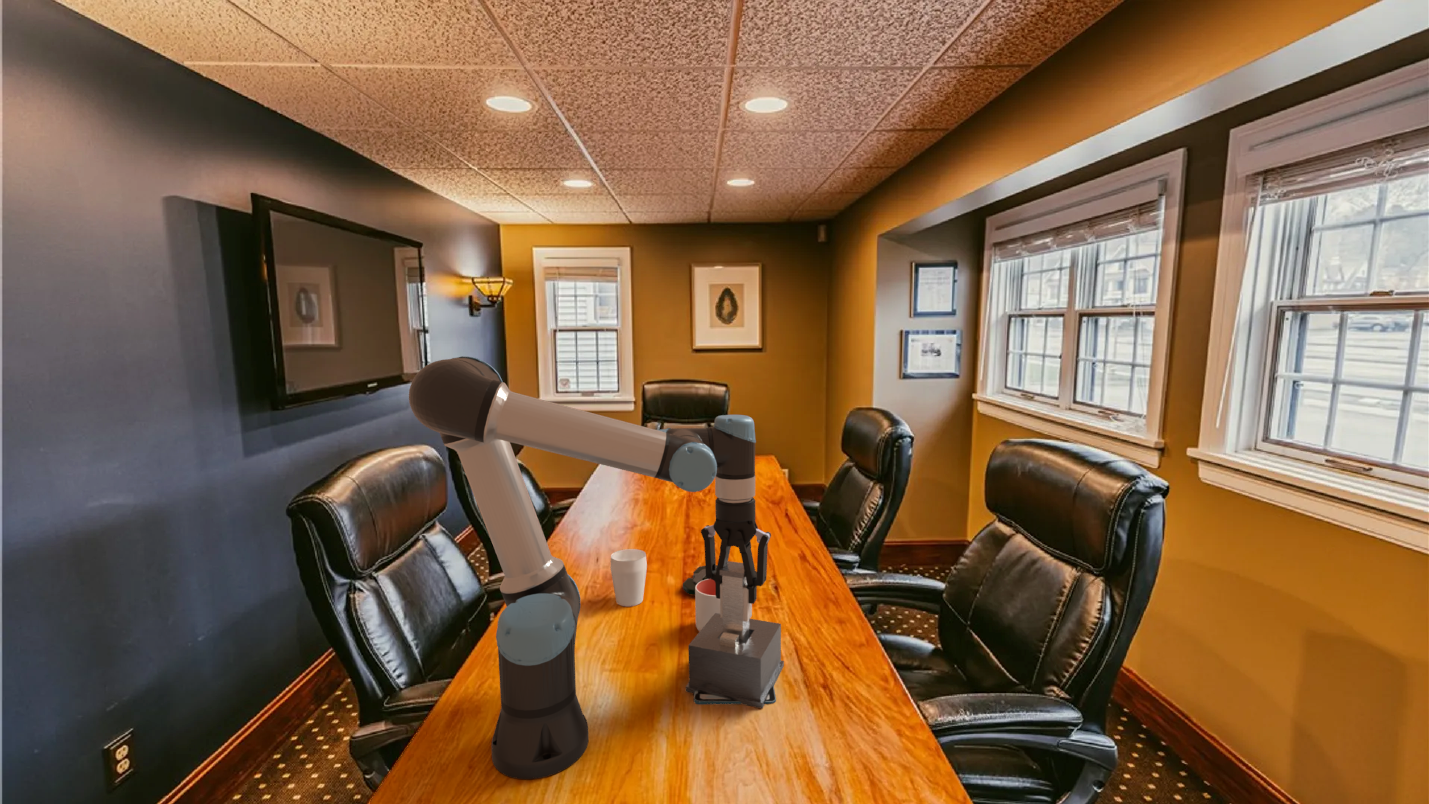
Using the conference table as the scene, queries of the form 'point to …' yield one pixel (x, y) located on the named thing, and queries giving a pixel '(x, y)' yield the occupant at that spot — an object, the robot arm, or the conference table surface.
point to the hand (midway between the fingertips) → (736, 616)
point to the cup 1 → (628, 576)
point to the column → (734, 600)
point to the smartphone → (712, 699)
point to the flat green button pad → (696, 580)
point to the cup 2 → (705, 602)
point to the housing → (736, 662)
